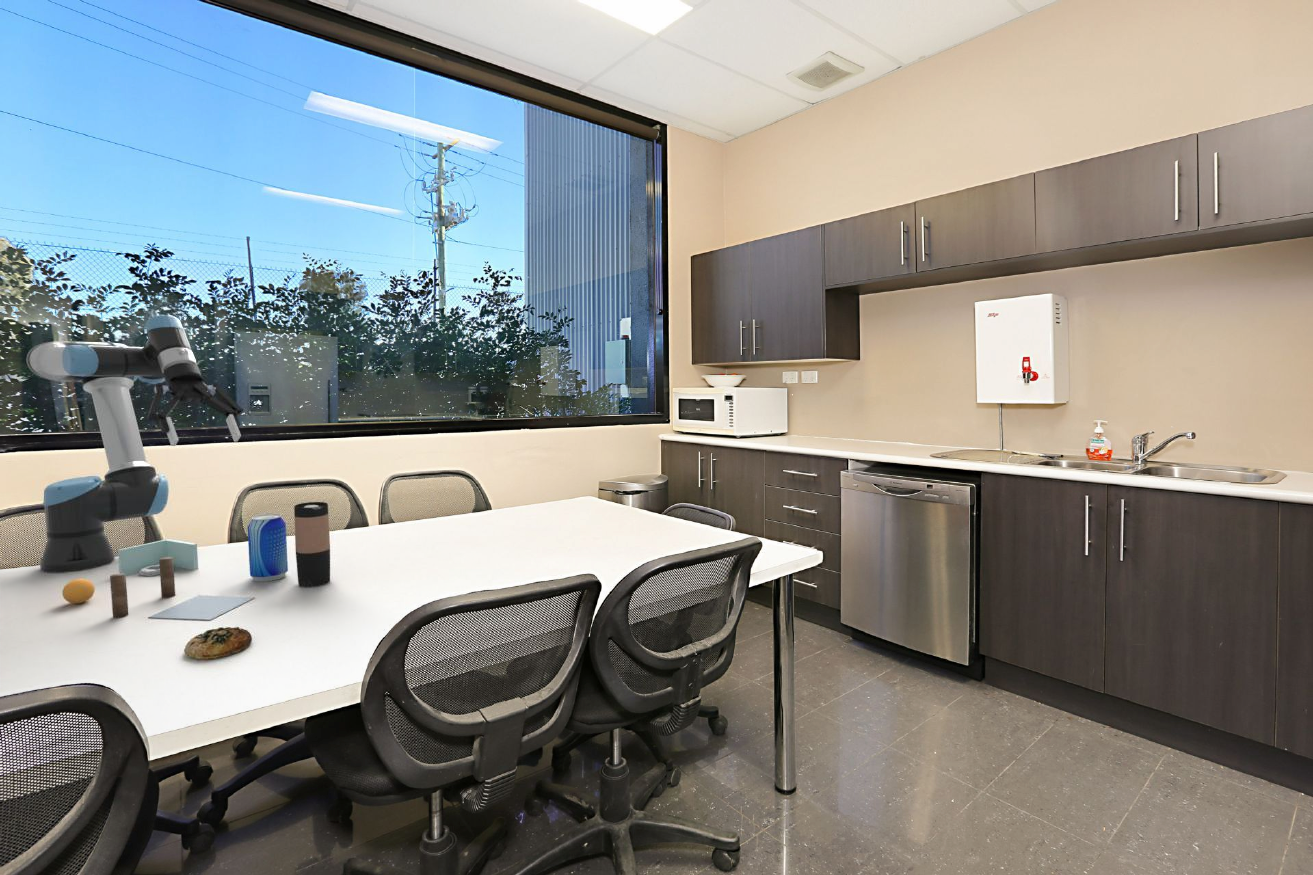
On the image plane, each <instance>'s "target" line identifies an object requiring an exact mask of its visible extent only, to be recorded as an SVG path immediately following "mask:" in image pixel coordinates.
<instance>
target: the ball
mask: <svg viewBox="0 0 1313 875" xmlns="http://www.w3.org/2000/svg"><path fill="white" fill-rule="evenodd" d="M95 588H96V587H95V585H94V582H92V581H90V580H89V579H85V578H76V579H72V580H71V581H69V582H68V583H66V584H65V585H64V586H63V589H62V592H61V593H62V597H63V599H64V600H65V601H66V602H67V603H70V604H81V603H85V602H87V601H89V600H90V599H91V598H92V597H93V596H94V593H95V590H96V589H95Z"/></svg>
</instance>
